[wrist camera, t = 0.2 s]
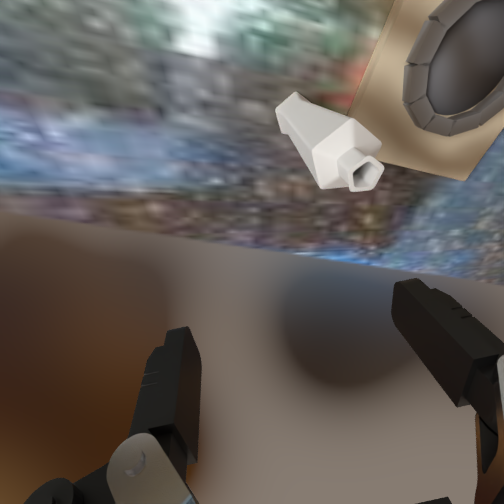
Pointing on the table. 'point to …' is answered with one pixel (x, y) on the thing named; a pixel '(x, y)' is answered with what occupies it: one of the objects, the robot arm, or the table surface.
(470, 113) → the hub board
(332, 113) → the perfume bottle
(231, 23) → the table surface
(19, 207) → the table surface
